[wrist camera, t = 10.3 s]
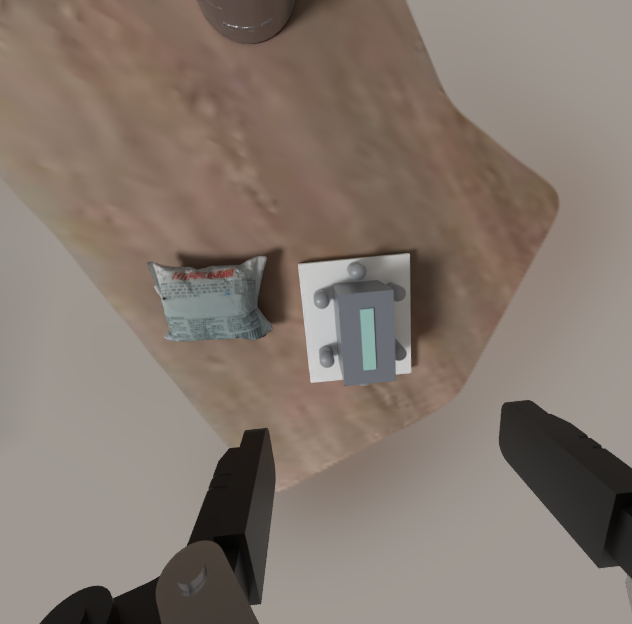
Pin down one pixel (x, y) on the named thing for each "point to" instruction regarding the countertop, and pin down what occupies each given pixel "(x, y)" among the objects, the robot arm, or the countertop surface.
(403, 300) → the pegged holder plate
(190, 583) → the robot arm
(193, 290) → the packaged food
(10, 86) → the countertop surface
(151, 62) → the countertop surface
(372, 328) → the block
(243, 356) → the countertop surface
